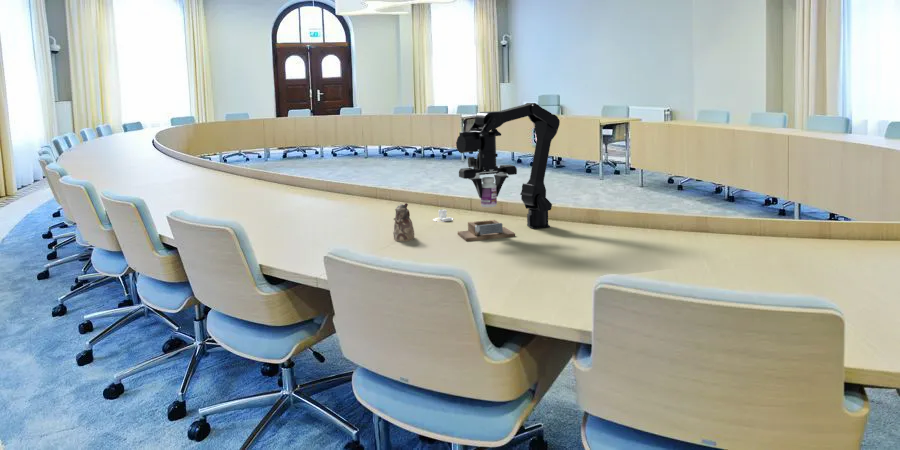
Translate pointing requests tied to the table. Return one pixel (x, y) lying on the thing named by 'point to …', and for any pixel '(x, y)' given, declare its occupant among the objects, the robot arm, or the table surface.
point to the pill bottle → (488, 192)
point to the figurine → (403, 224)
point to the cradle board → (471, 235)
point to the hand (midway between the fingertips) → (488, 197)
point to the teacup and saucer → (443, 216)
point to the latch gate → (488, 229)
